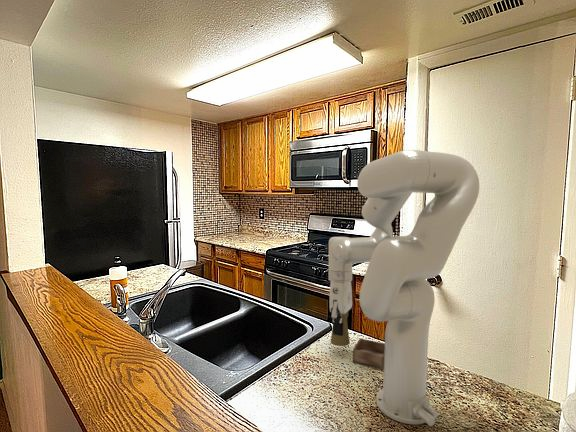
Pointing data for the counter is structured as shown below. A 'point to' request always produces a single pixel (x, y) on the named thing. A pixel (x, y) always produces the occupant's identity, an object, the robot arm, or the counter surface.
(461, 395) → the counter surface
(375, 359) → the shaker caddy
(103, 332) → the counter surface
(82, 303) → the counter surface
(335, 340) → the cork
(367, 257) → the robot arm
